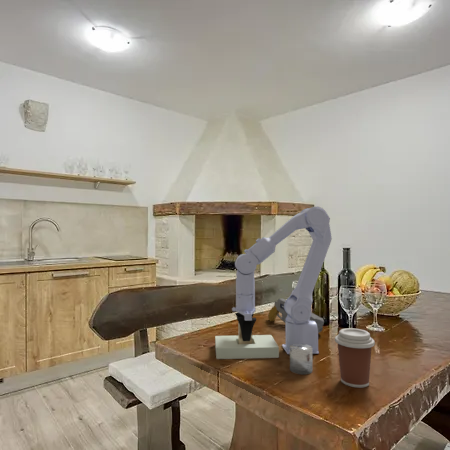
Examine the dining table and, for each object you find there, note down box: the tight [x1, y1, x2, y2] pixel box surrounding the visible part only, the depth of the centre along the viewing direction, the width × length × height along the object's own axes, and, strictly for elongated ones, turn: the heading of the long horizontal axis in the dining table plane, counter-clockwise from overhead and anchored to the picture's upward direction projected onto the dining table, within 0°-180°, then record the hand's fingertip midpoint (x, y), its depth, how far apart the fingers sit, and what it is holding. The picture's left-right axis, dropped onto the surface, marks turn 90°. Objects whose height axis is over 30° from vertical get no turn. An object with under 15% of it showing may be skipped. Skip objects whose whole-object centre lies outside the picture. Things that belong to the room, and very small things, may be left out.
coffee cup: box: [334, 327, 376, 389], centre depth 86 cm, size 9×9×12 cm
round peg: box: [289, 344, 313, 375], centre depth 93 cm, size 6×6×6 cm
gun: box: [267, 297, 325, 334], centre depth 134 cm, size 3×25×15 cm, turn 36°
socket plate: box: [214, 334, 280, 360], centre depth 107 cm, size 18×12×3 cm, turn 93°
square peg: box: [237, 321, 253, 344], centre depth 107 cm, size 4×4×7 cm
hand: (245, 338), depth 107 cm, fingers closed on square peg, 4 cm apart
